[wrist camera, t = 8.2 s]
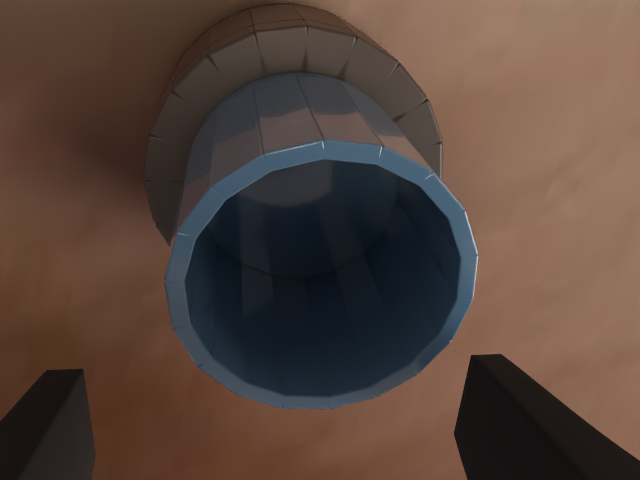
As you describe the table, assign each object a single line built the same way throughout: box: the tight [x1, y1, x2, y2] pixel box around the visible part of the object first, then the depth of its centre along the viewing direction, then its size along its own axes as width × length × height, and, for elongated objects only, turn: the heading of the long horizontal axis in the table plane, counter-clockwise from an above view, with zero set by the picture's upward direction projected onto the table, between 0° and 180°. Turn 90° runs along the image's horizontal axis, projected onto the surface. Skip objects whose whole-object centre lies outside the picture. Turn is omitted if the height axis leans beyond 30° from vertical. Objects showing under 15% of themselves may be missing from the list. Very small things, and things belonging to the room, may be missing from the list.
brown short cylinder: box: [144, 4, 442, 247], centre depth 18 cm, size 8×8×4 cm
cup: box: [164, 72, 478, 409], centre depth 13 cm, size 6×6×5 cm
